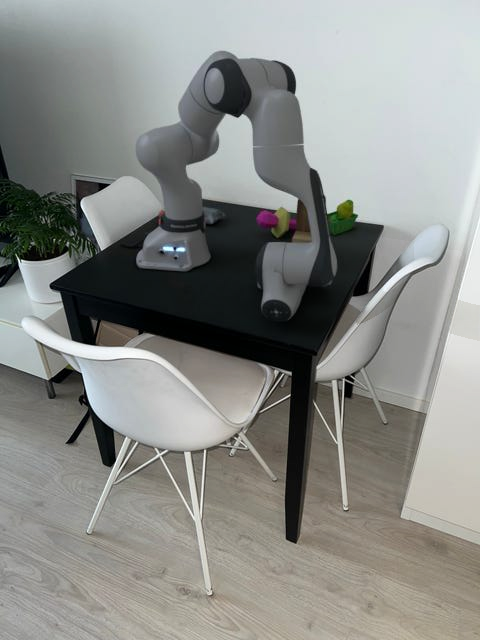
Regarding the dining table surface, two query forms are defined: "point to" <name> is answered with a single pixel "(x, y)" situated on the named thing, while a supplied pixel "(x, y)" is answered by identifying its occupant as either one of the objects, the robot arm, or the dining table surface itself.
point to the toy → (276, 221)
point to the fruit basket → (342, 218)
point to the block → (302, 217)
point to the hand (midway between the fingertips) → (299, 258)
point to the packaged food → (212, 215)
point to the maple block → (302, 237)
